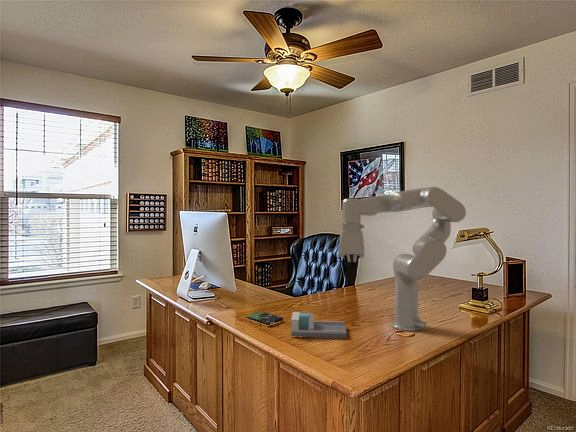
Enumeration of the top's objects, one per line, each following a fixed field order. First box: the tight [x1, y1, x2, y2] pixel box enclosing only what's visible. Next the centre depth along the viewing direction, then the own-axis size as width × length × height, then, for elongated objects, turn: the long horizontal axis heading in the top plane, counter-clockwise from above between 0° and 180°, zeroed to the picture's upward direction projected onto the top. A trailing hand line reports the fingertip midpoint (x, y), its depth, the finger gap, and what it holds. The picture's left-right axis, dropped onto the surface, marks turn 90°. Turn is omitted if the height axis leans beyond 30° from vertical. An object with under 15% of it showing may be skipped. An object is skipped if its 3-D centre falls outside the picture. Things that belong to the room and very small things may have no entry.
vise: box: [290, 311, 348, 339], centre depth 150 cm, size 22×12×7 cm, turn 86°
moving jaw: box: [308, 312, 315, 330], centre depth 150 cm, size 2×10×4 cm, turn 176°
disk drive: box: [244, 311, 284, 325], centre depth 166 cm, size 10×3×15 cm
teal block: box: [299, 312, 310, 330], centre depth 151 cm, size 4×5×6 cm
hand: (351, 271), depth 153 cm, fingers closed
